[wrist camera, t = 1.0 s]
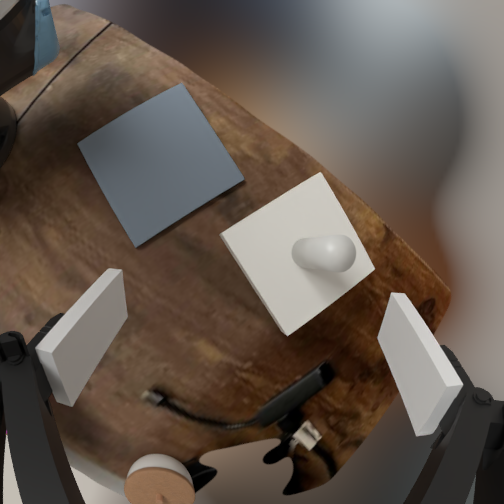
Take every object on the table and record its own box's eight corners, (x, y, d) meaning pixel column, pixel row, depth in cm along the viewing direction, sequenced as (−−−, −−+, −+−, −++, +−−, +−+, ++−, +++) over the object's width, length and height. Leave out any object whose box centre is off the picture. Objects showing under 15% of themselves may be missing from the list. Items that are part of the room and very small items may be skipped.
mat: (78, 145, 41) (77, 143, 40) (181, 85, 44) (182, 82, 44) (136, 247, 43) (135, 247, 43) (243, 180, 46) (244, 179, 46)
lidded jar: (175, 435, 44) (176, 469, 35) (201, 479, 45) (207, 514, 36) (117, 450, 42) (109, 484, 33) (147, 493, 43) (145, 527, 34)
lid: (218, 234, 35) (234, 228, 25) (313, 175, 37) (356, 152, 27) (281, 331, 37) (316, 358, 27) (365, 268, 39) (418, 273, 29)
